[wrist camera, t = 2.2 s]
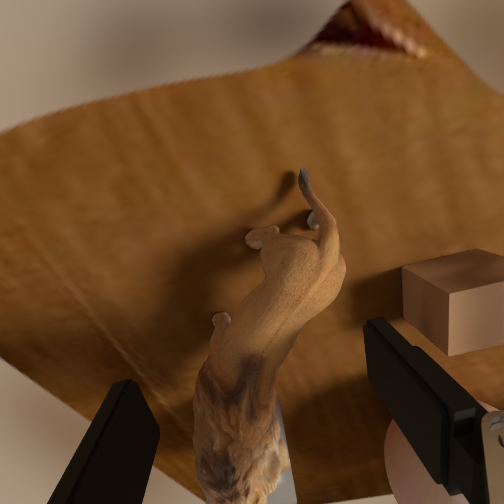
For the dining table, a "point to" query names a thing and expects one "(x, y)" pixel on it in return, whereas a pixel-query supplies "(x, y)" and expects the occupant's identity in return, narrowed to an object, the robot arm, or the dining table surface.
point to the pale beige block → (456, 300)
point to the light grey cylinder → (282, 474)
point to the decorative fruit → (414, 471)
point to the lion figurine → (260, 359)
